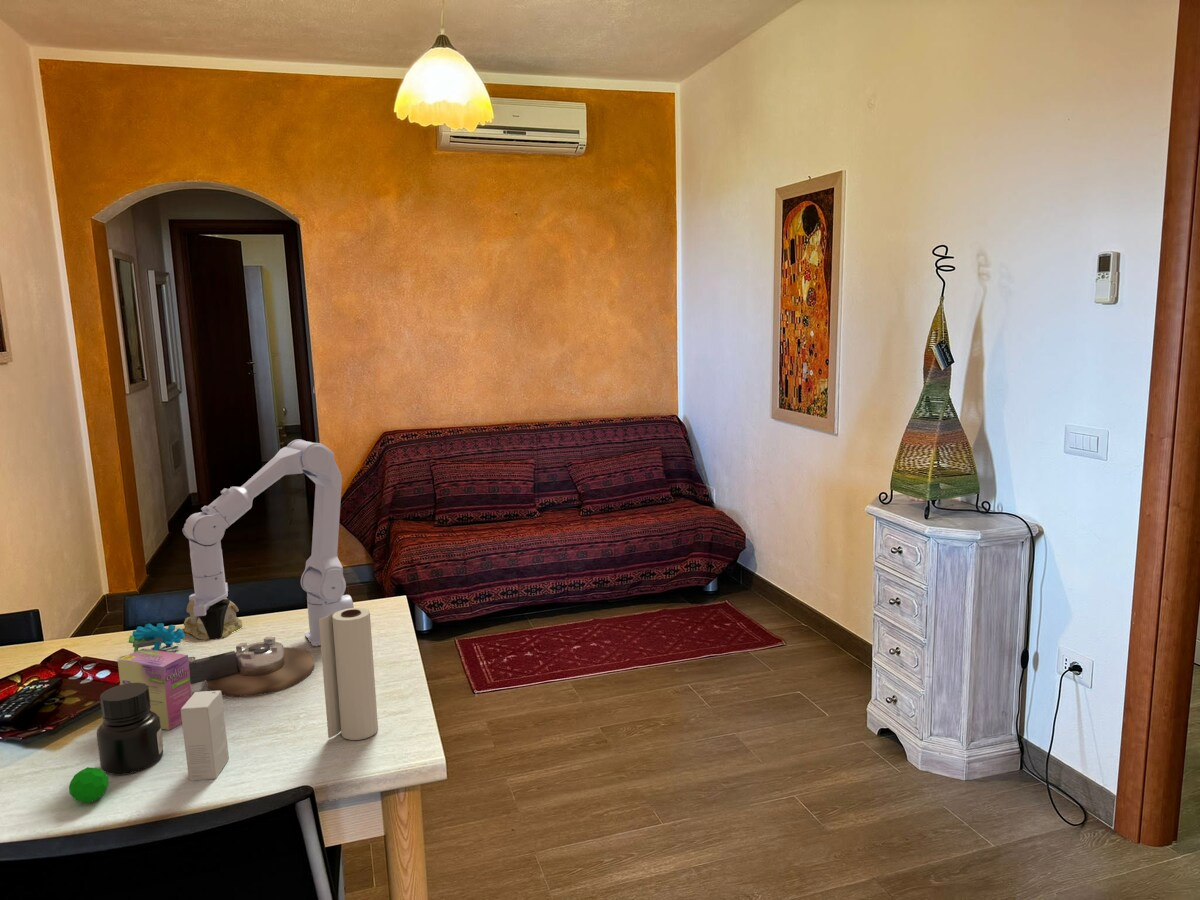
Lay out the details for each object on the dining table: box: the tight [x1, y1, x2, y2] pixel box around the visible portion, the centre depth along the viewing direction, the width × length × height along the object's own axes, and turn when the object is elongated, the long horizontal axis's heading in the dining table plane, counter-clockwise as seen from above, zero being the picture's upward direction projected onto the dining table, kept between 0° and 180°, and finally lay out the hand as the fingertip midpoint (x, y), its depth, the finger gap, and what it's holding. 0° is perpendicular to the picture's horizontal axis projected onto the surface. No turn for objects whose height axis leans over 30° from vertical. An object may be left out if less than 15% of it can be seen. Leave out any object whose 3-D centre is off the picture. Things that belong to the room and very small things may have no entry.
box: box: [117, 648, 193, 731], centre depth 150 cm, size 10×6×12 cm, turn 71°
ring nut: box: [188, 636, 285, 685], centre depth 166 cm, size 18×9×5 cm, turn 126°
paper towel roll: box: [319, 607, 379, 741], centre depth 143 cm, size 7×6×21 cm
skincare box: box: [181, 690, 230, 782], centre depth 132 cm, size 6×4×12 cm
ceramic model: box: [183, 597, 243, 641], centre depth 194 cm, size 14×11×10 cm
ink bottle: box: [96, 683, 164, 775], centre depth 136 cm, size 10×9×12 cm
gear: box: [128, 622, 186, 653], centre depth 180 cm, size 11×6×10 cm
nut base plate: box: [205, 646, 315, 697], centre depth 169 cm, size 20×20×2 cm
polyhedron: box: [68, 766, 110, 804], centre depth 126 cm, size 5×5×5 cm
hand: (215, 638), depth 170 cm, fingers closed
